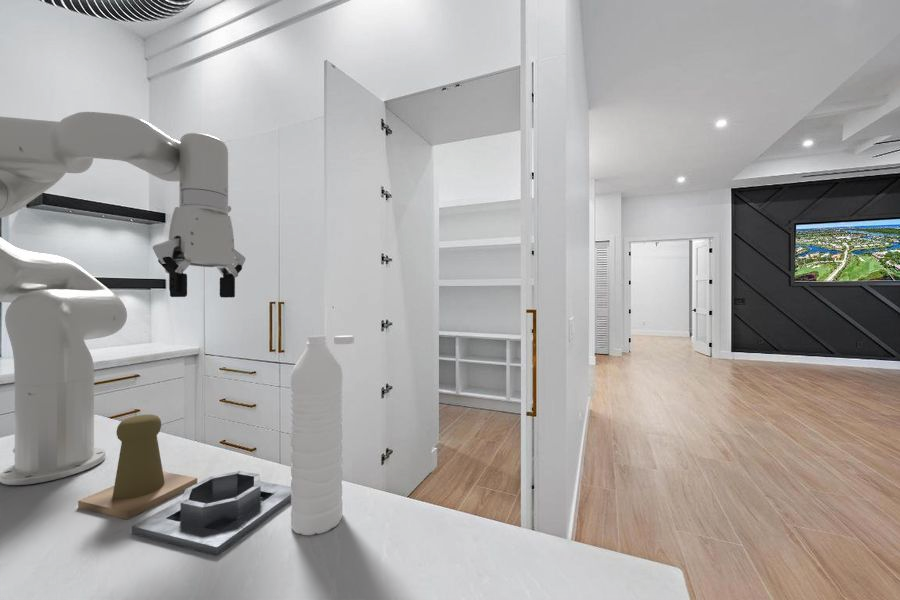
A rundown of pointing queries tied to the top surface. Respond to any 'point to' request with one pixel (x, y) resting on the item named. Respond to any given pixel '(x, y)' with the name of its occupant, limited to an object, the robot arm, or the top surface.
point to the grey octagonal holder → (216, 512)
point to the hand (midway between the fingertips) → (204, 297)
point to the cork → (138, 457)
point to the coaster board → (132, 507)
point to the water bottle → (316, 438)
